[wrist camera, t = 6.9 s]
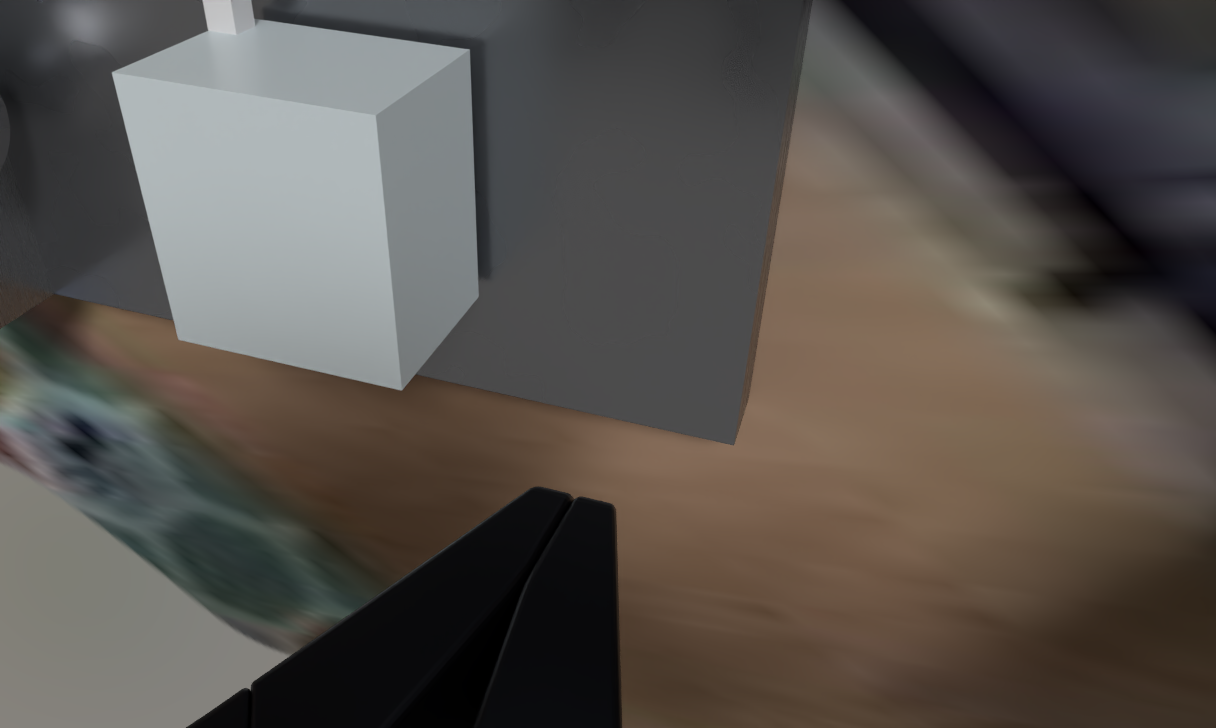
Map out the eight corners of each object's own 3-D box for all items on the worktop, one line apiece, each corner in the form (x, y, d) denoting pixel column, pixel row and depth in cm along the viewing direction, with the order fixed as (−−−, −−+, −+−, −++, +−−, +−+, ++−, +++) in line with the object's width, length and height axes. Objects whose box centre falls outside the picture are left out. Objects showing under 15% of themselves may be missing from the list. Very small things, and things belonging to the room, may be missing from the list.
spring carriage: (462, -166, 13) (351, -137, 11) (478, 296, 17) (401, 390, 15) (206, -189, 14) (52, -167, 12) (280, 256, 18) (178, 340, 16)
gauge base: (841, -182, 13) (790, -134, 9) (747, 399, 19) (692, 581, 15) (-139, -262, 17) (-475, -251, 13) (30, 246, 23) (-167, 361, 19)
